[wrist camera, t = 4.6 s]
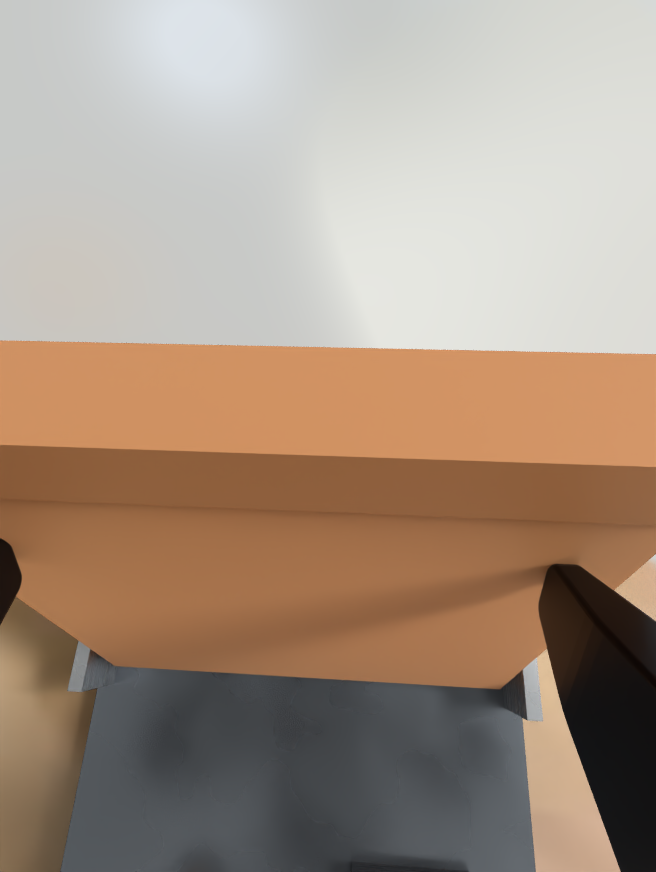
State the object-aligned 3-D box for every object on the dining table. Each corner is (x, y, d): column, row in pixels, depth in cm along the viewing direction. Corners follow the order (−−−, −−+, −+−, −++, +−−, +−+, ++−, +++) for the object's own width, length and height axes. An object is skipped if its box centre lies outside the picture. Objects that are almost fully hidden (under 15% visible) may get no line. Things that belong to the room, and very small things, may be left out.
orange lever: (504, 697, 14) (789, 470, 5) (109, 673, 14) (-252, 436, 6) (494, 632, 15) (711, 355, 6) (129, 612, 15) (-148, 337, 7)
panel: (538, 1052, 12) (593, 1175, 10) (50, 1002, 13) (-30, 1104, 10) (503, 605, 16) (534, 601, 14) (130, 587, 17) (89, 579, 14)
